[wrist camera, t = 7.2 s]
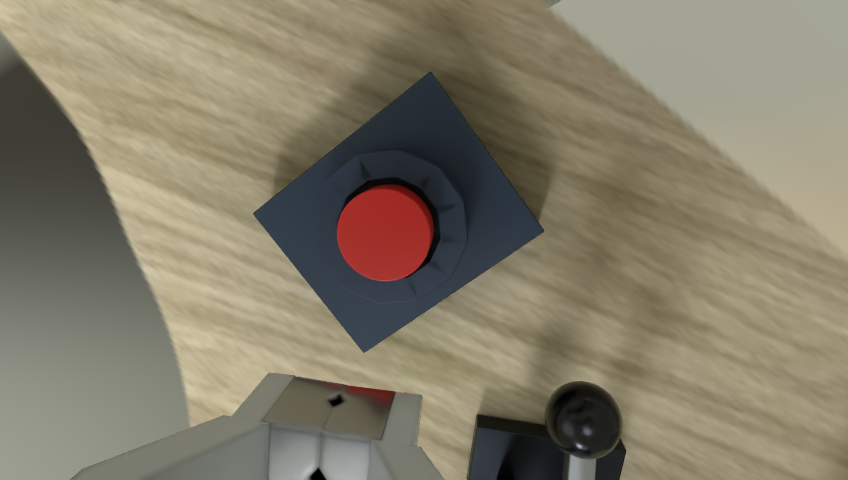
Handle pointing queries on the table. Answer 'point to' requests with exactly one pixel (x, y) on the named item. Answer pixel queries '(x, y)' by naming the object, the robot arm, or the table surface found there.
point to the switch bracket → (526, 453)
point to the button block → (430, 179)
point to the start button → (385, 232)
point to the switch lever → (582, 426)
